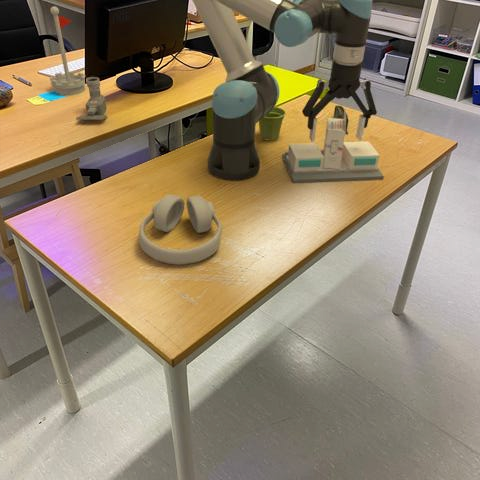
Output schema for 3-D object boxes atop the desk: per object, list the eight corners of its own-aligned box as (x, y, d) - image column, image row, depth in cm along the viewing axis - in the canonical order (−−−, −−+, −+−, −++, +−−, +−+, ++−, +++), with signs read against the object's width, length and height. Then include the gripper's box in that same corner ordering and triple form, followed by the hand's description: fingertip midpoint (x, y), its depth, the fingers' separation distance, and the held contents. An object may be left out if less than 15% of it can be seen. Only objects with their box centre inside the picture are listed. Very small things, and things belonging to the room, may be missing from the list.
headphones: (150, 210, 116) (135, 271, 101) (146, 185, 110) (129, 246, 96) (224, 213, 116) (219, 274, 101) (224, 188, 110) (219, 249, 96)
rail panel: (293, 183, 129) (295, 164, 126) (282, 156, 142) (283, 138, 138) (383, 179, 132) (387, 160, 129) (364, 153, 145) (368, 136, 141)
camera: (107, 76, 162) (97, 91, 150) (112, 108, 169) (103, 126, 157) (82, 75, 162) (70, 91, 150) (88, 108, 169) (77, 125, 157)
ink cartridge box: (321, 154, 139) (328, 106, 131) (338, 156, 139) (346, 108, 130) (321, 168, 133) (329, 118, 124) (339, 169, 132) (348, 120, 123)
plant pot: (289, 139, 152) (291, 114, 146) (265, 145, 148) (266, 119, 142) (273, 129, 158) (275, 104, 153) (249, 134, 154) (250, 109, 149)
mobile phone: (333, 104, 165) (343, 119, 153) (342, 104, 165) (352, 119, 153) (332, 117, 168) (341, 134, 156) (340, 117, 168) (349, 134, 156)
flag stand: (57, 98, 176) (38, 11, 158) (49, 87, 185) (30, 4, 167) (91, 93, 181) (77, 8, 163) (82, 83, 190) (68, 1, 172)
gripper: (302, 66, 114) (294, 146, 127) (400, 65, 117) (382, 143, 130) (296, 57, 120) (289, 134, 133) (389, 56, 123) (373, 132, 136)
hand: (335, 139), depth 132 cm, fingers open, 13 cm apart
